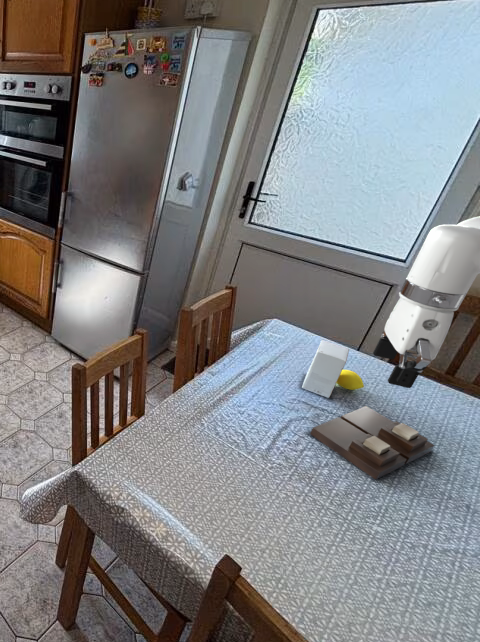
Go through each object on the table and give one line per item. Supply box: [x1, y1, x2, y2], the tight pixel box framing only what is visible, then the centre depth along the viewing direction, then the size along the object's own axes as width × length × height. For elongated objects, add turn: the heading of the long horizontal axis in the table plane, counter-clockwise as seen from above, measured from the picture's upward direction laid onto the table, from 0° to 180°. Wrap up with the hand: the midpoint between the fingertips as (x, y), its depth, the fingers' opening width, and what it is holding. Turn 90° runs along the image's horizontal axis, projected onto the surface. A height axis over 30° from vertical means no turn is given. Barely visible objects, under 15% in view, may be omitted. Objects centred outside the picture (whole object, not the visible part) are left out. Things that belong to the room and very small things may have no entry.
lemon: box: [336, 369, 365, 391], centre depth 118 cm, size 7×5×5 cm
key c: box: [392, 422, 420, 441], centre depth 98 cm, size 3×3×2 cm
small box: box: [301, 339, 350, 399], centre depth 117 cm, size 8×6×13 cm
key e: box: [363, 436, 390, 455], centre depth 95 cm, size 3×3×2 cm
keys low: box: [340, 405, 435, 465], centre depth 102 cm, size 14×10×4 cm
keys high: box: [309, 416, 407, 480], centre depth 99 cm, size 14×10×4 cm
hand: (390, 370), depth 81 cm, fingers open, 9 cm apart
